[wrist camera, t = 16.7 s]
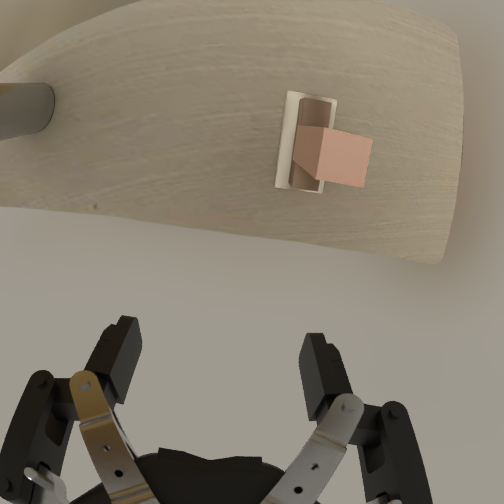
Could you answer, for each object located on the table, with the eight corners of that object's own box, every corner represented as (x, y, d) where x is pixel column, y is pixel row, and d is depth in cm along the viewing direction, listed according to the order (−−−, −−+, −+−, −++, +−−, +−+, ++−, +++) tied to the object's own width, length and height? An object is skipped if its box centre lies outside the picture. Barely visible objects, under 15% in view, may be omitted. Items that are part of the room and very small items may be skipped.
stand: (273, 185, 39) (277, 193, 35) (286, 91, 33) (291, 87, 28) (319, 191, 40) (328, 200, 35) (333, 100, 33) (345, 98, 29)
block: (292, 159, 33) (315, 179, 22) (297, 125, 31) (324, 127, 20) (326, 165, 33) (362, 188, 22) (332, 131, 31) (372, 139, 20)
